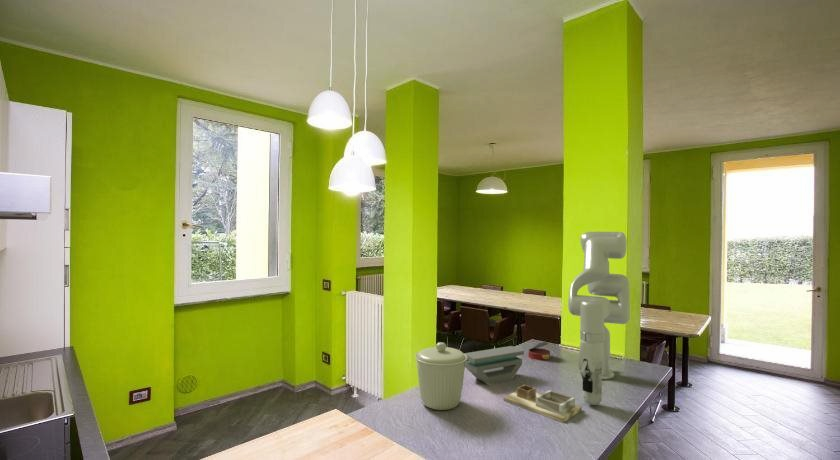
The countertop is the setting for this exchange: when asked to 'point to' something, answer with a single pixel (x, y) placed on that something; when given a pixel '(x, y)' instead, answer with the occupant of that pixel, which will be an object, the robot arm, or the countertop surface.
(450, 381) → the canister
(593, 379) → the energy drink can
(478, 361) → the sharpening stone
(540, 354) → the canned food
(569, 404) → the wooden organizer tray
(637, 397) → the countertop surface
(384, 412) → the countertop surface
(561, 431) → the countertop surface
